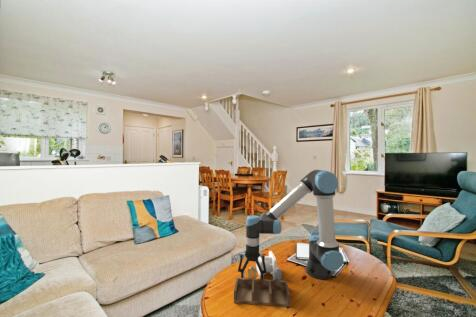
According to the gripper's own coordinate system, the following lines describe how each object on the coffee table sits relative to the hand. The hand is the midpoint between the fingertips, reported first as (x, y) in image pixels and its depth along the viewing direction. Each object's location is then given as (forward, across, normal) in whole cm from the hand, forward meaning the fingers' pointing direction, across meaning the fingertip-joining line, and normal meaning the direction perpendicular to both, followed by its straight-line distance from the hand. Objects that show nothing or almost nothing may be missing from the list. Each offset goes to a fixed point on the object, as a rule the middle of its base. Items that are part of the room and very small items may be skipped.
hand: (251, 284), depth 122 cm
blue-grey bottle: (0, -14, 0) cm, 14 cm away
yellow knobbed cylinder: (0, 0, 0) cm, 0 cm away
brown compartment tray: (0, -5, +10) cm, 11 cm away
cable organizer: (+1, -8, -13) cm, 15 cm away
